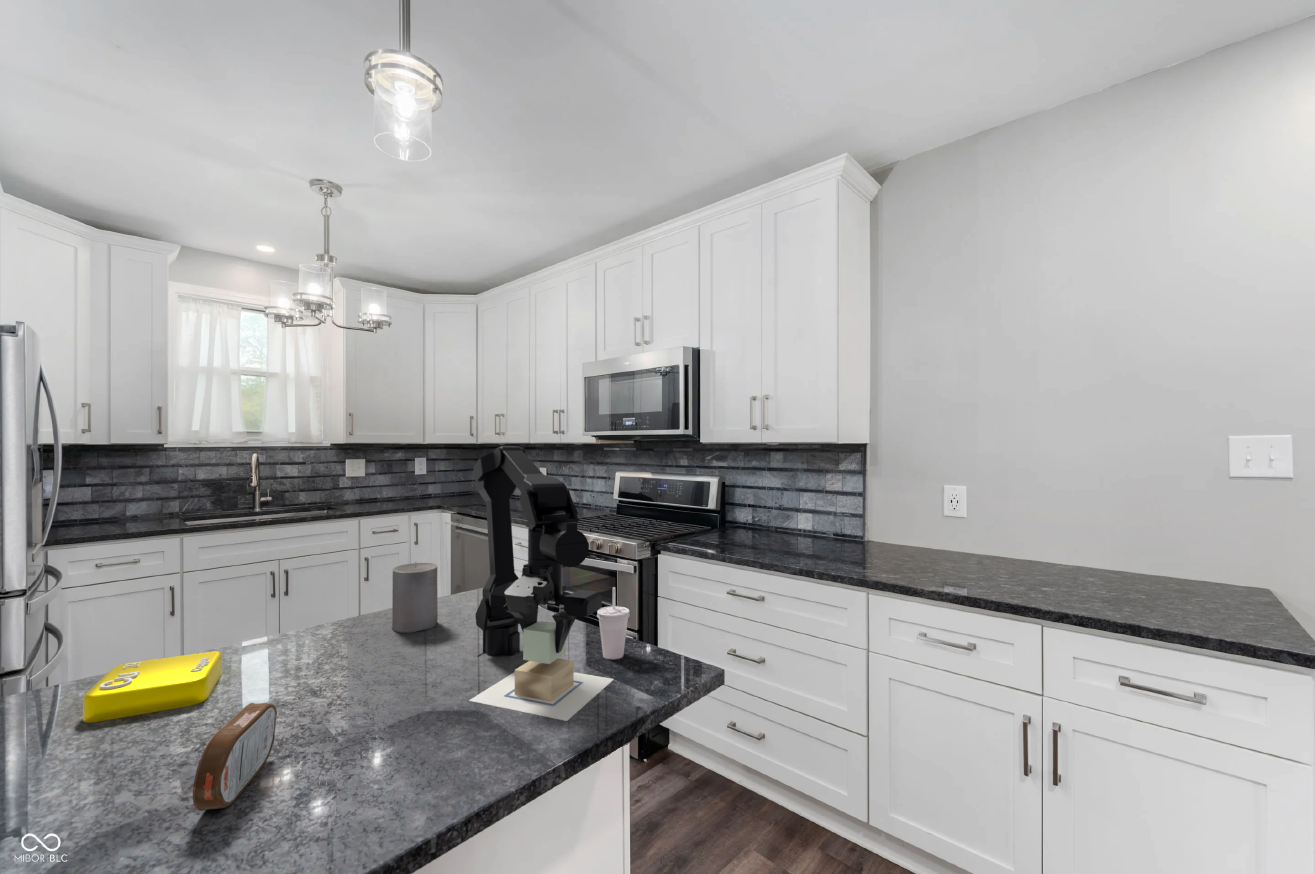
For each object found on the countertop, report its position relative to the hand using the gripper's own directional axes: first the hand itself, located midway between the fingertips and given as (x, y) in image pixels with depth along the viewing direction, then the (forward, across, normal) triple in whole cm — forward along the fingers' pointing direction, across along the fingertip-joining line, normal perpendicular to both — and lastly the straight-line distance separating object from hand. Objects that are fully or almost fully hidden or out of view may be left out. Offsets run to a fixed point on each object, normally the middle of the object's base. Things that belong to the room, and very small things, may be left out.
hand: (544, 650), depth 93 cm
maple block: (+6, 0, 0) cm, 6 cm away
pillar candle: (+8, -48, +20) cm, 52 cm away
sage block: (+1, 0, 0) cm, 1 cm away
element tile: (+8, -60, -24) cm, 65 cm away
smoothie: (+8, +4, +18) cm, 20 cm away
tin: (+8, -21, -35) cm, 42 cm away
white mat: (+8, 0, 0) cm, 8 cm away
